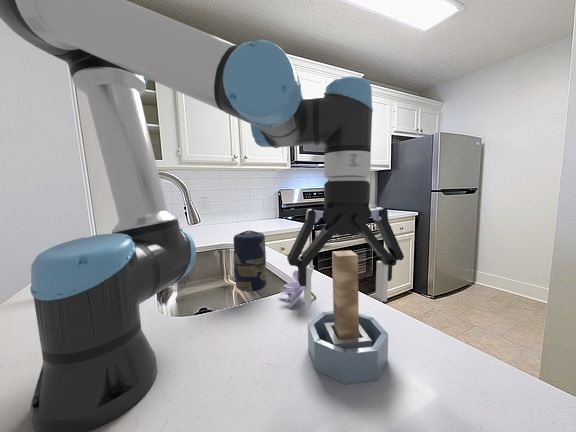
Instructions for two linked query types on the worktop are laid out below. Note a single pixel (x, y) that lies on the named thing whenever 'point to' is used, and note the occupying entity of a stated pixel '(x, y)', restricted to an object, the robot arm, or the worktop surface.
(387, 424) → the worktop surface
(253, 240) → the canister
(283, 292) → the water lily
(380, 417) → the worktop surface
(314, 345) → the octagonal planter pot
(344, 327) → the square wooden post
